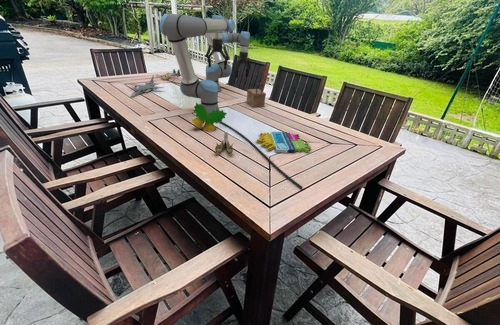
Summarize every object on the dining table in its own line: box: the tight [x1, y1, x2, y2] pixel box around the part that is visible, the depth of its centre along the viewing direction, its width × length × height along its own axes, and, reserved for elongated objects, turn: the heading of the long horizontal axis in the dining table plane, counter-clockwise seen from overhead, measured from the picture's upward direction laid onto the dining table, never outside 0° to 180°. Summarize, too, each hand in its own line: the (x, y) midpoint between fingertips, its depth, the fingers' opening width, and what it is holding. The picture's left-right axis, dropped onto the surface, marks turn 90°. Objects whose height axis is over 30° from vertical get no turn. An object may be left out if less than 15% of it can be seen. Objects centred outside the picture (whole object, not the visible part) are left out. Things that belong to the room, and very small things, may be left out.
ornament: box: [191, 102, 228, 132], centre depth 162 cm, size 21×8×15 cm, turn 105°
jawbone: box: [214, 131, 234, 156], centre depth 136 cm, size 9×15×10 cm
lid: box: [246, 82, 267, 96], centre depth 209 cm, size 15×10×9 cm
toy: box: [155, 68, 181, 81], centre depth 282 cm, size 28×7×30 cm
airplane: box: [129, 74, 165, 98], centre depth 227 cm, size 38×31×10 cm
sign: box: [256, 131, 312, 154], centre depth 152 cm, size 26×2×30 cm
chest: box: [246, 90, 266, 108], centre depth 214 cm, size 14×10×10 cm
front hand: (217, 68), depth 206 cm, fingers open, 13 cm apart
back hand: (241, 77), depth 233 cm, fingers open, 13 cm apart
